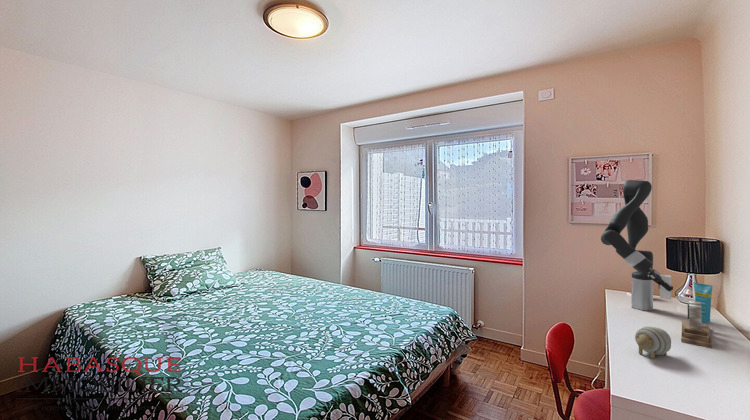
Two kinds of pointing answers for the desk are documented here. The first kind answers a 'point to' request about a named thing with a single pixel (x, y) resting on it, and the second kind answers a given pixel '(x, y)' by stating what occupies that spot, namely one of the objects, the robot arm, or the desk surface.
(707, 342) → the rail
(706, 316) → the tube
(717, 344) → the desk surface
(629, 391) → the desk surface
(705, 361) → the desk surface
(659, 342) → the toy sheep
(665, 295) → the grey finger
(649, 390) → the desk surface
